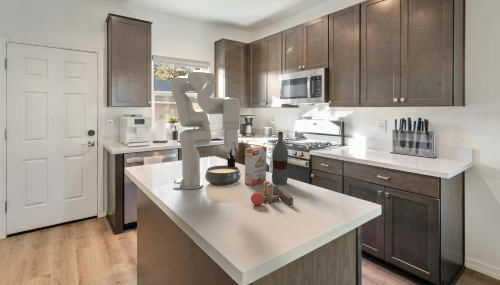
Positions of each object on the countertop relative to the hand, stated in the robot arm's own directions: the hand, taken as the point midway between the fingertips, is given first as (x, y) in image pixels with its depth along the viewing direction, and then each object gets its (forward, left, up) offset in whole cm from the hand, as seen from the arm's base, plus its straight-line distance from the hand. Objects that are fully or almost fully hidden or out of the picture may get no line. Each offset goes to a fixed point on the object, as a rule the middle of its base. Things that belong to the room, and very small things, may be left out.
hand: (231, 167), depth 127 cm
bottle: (+34, +28, -17) cm, 47 cm away
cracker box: (+21, +33, -17) cm, 43 cm away
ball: (+11, -4, -14) cm, 19 cm away
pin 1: (+18, +2, -17) cm, 25 cm away
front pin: (+14, 0, -16) cm, 21 cm away
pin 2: (+18, -3, -17) cm, 25 cm away
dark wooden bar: (+25, 0, -17) cm, 30 cm away
